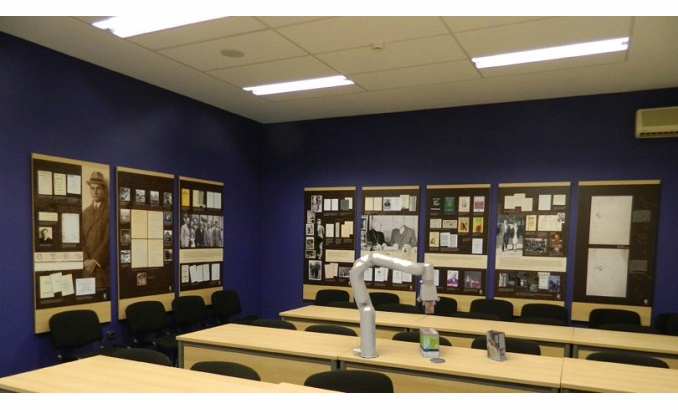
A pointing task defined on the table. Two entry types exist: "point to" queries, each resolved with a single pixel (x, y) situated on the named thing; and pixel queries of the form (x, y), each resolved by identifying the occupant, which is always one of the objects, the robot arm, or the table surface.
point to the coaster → (437, 360)
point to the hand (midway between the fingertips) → (428, 310)
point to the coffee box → (496, 345)
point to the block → (429, 307)
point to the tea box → (429, 342)
